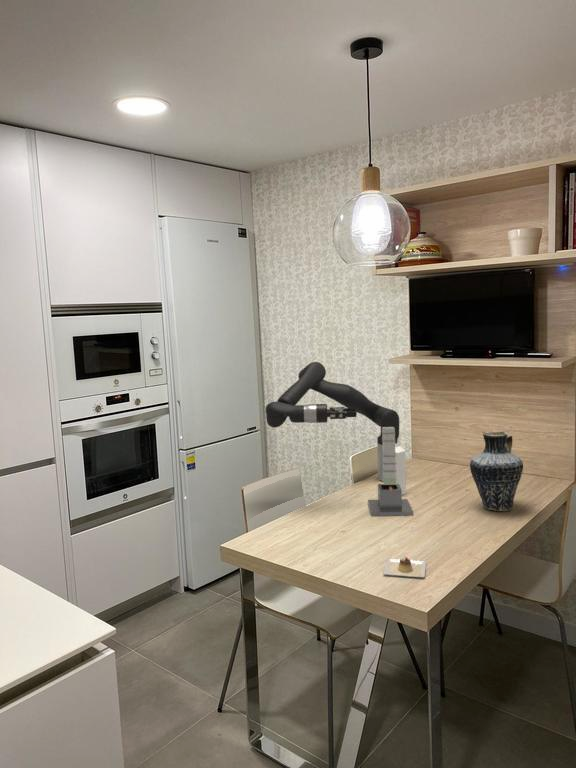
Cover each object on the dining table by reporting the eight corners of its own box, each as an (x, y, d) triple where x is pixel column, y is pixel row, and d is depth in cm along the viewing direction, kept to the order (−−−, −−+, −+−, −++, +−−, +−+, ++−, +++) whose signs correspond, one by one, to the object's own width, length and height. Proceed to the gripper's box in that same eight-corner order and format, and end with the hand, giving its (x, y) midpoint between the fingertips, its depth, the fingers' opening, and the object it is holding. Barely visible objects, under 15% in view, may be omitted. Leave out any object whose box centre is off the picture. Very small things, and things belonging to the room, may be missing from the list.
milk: (406, 493, 261) (405, 443, 258) (397, 497, 257) (397, 445, 254) (394, 491, 266) (394, 441, 263) (386, 494, 261) (385, 443, 259)
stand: (367, 503, 250) (367, 479, 249) (407, 502, 249) (407, 478, 248) (371, 516, 234) (370, 490, 233) (413, 515, 233) (412, 490, 232)
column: (382, 481, 243) (381, 427, 240) (394, 481, 243) (393, 426, 240) (383, 484, 238) (382, 429, 236) (396, 484, 238) (395, 429, 235)
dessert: (426, 564, 190) (426, 549, 189) (424, 580, 178) (424, 565, 178) (387, 561, 193) (387, 546, 192) (383, 577, 181) (383, 562, 181)
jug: (511, 519, 225) (512, 439, 221) (461, 510, 237) (461, 434, 234) (531, 505, 240) (531, 430, 237) (483, 496, 253) (483, 425, 249)
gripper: (315, 407, 238) (356, 405, 237) (315, 401, 252) (354, 400, 252) (315, 425, 239) (357, 424, 238) (315, 419, 253) (355, 418, 252)
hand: (355, 412), depth 245 cm, fingers open, 8 cm apart
